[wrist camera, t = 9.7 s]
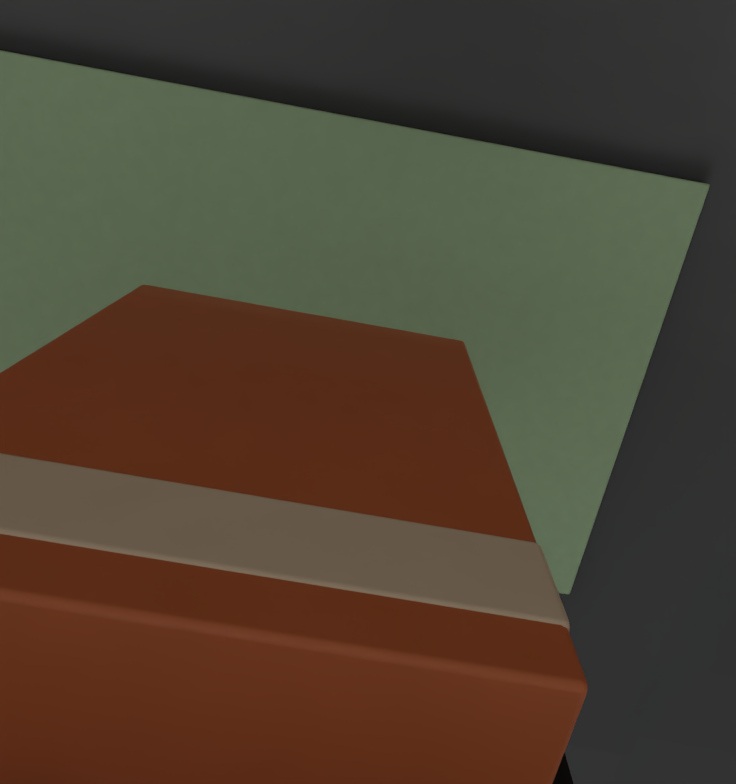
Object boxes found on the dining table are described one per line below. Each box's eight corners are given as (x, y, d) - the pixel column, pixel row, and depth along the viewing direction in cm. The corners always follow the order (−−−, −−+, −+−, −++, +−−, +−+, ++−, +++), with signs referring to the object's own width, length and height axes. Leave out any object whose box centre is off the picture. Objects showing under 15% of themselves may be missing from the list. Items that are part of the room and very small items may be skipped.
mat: (0, 496, 23) (-6, 502, 23) (-11, 48, 18) (-19, 46, 18) (566, 588, 24) (569, 595, 24) (704, 183, 19) (711, 184, 19)
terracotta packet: (118, 686, 13) (-149, 1236, 7) (139, 280, 10) (-296, 545, 4) (374, 726, 13) (362, 1297, 7) (466, 339, 10) (598, 686, 4)
